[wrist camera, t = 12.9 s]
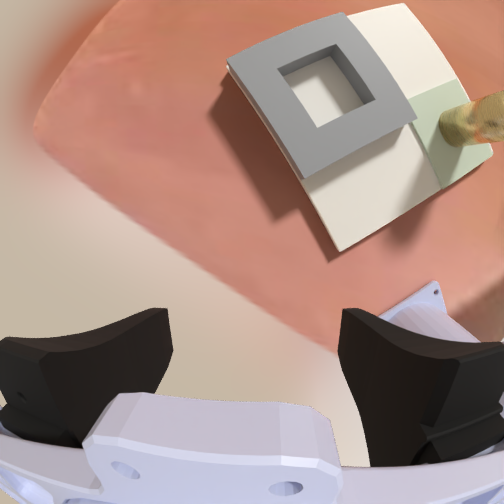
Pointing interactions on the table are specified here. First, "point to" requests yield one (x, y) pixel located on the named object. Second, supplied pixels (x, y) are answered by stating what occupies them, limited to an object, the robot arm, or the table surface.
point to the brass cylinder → (474, 122)
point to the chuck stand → (359, 115)
